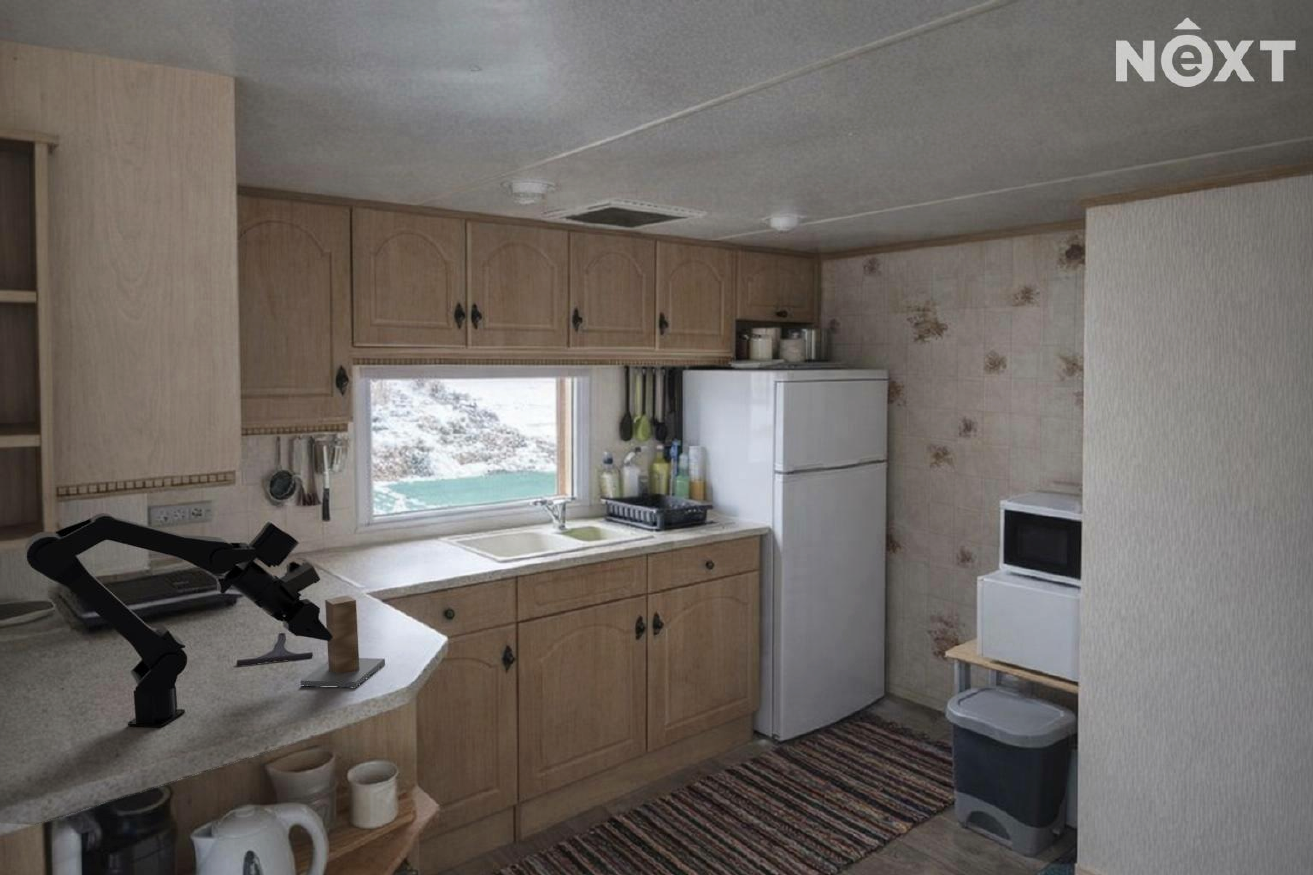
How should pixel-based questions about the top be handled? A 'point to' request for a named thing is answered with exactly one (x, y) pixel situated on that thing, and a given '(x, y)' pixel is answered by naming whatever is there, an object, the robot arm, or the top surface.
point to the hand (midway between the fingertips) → (323, 633)
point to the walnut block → (342, 634)
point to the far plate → (349, 679)
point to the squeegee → (276, 654)
